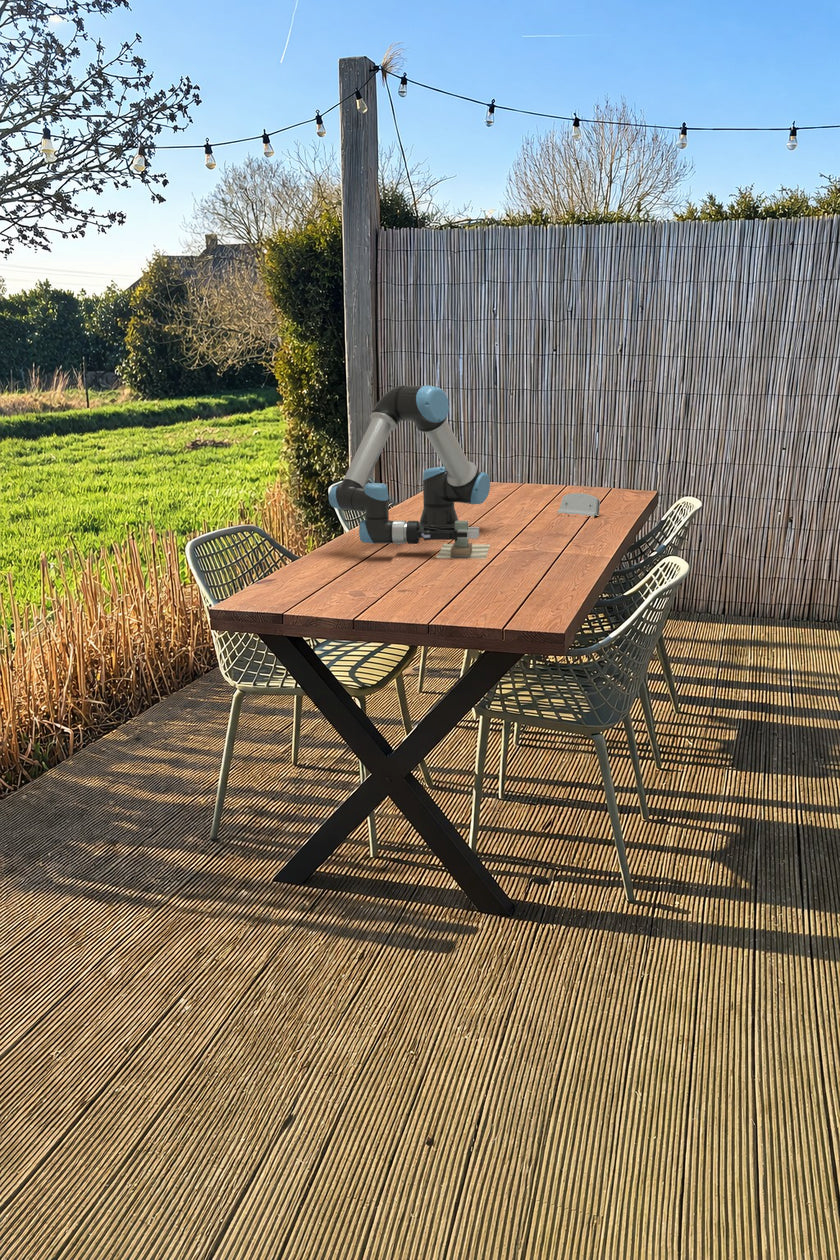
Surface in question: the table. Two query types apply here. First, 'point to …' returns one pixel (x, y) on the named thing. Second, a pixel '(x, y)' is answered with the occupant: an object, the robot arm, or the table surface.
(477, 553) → the board
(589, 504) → the hinge
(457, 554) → the block
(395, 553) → the table surface
